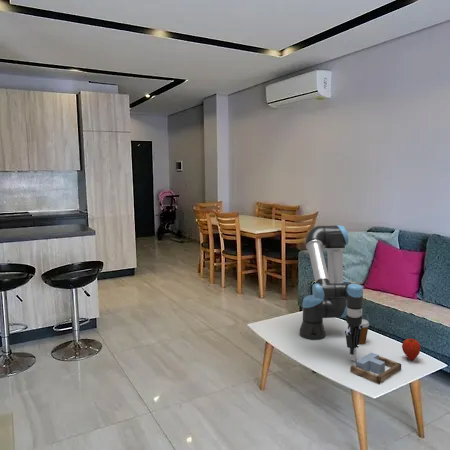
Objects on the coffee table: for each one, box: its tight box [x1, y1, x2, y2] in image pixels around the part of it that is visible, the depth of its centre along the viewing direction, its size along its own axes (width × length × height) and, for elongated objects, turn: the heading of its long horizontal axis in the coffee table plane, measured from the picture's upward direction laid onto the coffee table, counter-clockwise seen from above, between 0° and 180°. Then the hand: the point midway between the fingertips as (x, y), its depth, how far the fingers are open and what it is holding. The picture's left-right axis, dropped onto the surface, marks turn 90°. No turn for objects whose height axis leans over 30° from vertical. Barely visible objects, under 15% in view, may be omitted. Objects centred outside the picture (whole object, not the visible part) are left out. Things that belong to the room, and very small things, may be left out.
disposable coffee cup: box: [359, 318, 370, 345], centre depth 225 cm, size 10×10×12 cm
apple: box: [401, 338, 422, 361], centre depth 203 cm, size 9×8×11 cm
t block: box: [355, 351, 386, 375], centre depth 194 cm, size 10×14×5 cm
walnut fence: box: [350, 355, 402, 385], centre depth 193 cm, size 15×20×3 cm
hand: (352, 359), depth 203 cm, fingers closed
